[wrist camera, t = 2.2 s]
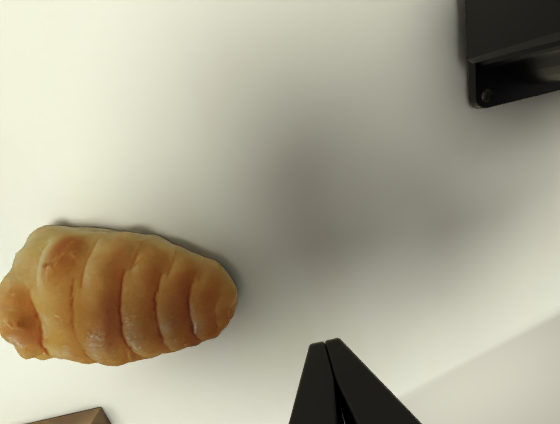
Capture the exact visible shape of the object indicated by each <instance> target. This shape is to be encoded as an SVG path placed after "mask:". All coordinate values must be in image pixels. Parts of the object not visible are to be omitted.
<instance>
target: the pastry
mask: <svg viewBox="0 0 560 424" xmlns="http://www.w3.org/2000/svg"><path fill="white" fill-rule="evenodd" d="M237 299H238V294H237V289H236V286H235V284H234V282H233V281H232V279H231V277H230V276H229V274H228V273H227V271H226V270H225V269H224V267H223V266H221V265H220V264H219V263H218V262H217V261H215V260H212V259H209V258H206V257H203V256H201V255H200V254H196V253H192V252H190V251H188V250H186V249H185V248H183V247H181V246H178V245H174V244H172V243H171V242H169V241H168V240H166V239H164V238H162V237H160V236H158V235H156V234H149V235H144V234H138V233H133V232H121V231H115V230H111V229H106V228H88V227H67V226H56V225H45V226H43V227H40V228H38V229H36V230H35V231H33V232H32V233H31V234H30V235H29V237H28V238H27V241H26V243H25V245H24V247H23V248H22V249H21V250H20V251H18V252H17V253H16V256H15V258H14V261H13V265H12V268H11V270H10V272H9V273H8V274H7V275H6V276H5V277H4V279H3V280H2V282H1V284H0V334H1V336H2V337H3V338H4V339H5V340H6V341H7V342H9V343H11V344H13V345H14V347H15V349H16V350H17V352H18V353H19V355H20V356H21V357H22V358H25V359H30V358H37V359H39V360H46V359H50V358H58V359H67V360H71V361H75V362H80V363H84V364H92V363H100V364H103V365H107V366H120V365H123V364H126V363H128V362H134V361H137V360H142V359H148V358H153V357H155V356H158V355H160V354H162V353H170V352H175V351H178V350H181V349H183V348H186V347H191V346H196V345H198V344H200V343H201V342H203V341H205V340H208V339H212V338H215V337H217V336H218V335H219V334H220V333H221V331H222V330H223V329H224V328H225V327H226V326H227V325H228V323H229V321H230V319H231V318H232V317H233V315H234V312H235V309H236V305H237Z"/></svg>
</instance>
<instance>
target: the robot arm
mask: <svg viewBox="0 0 560 424" xmlns="http://www.w3.org/2000/svg"><path fill="white" fill-rule="evenodd" d="M466 37H467V59H468V65H469V100H470V104H471V105H472V106H473V107H475V108H488V107H493V106H497V105H501V104H505V103H509V102H513V101H517V100H521V99H525V98H529V97H533V96H537V95H541V94H545V93H549V92H553V91H558V90H560V0H466ZM484 91H486V94H487V95H486V98H485V100H484V101H483V100H482V93H483V92H484ZM342 414H343V415H342ZM343 418H344V419H343ZM344 422H345V423H344ZM289 424H422V423H421V422H420V421H419V420H418V419H417V418H416V417H415V416H414V415H413V414H412V413H411V412H410V411H409V410H408V409H407V408H406V407H405V406H404V405H403V404H402V403H401V402H400V401H399V399H398V398H397V397H396V396H395V395H394V394H393V393H392V392H391V391H390V390H389V389H388V388H387V387H386V386H385V385H384V384H383V383H382V382H381V381H380V380H379V379H378V378H377V377H376V376H375V375H374V374H373V372H372V371H371V370H370V369H369V368H368V367H367V366H366V365H365V364H364V363H363V362H362V361H361V360H360V359H359V358H358V357H357V356H356V355H355V354H354V353H353V352H352V351H351V350H350V349H349V348H348V347H347V346H346V344H345V343H344V342H343V341H342V340H341V339H339V338H335V339H331V340H327V341H325V343H324V342H317V343H313V344H311V345H310V346H309V349H308V353H307V356H306V360H305V364H304V368H303V372H302V375H301V379H300V383H299V387H298V391H297V394H296V398H295V402H294V406H293V410H292V413H291V417H290V421H289Z"/></svg>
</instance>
